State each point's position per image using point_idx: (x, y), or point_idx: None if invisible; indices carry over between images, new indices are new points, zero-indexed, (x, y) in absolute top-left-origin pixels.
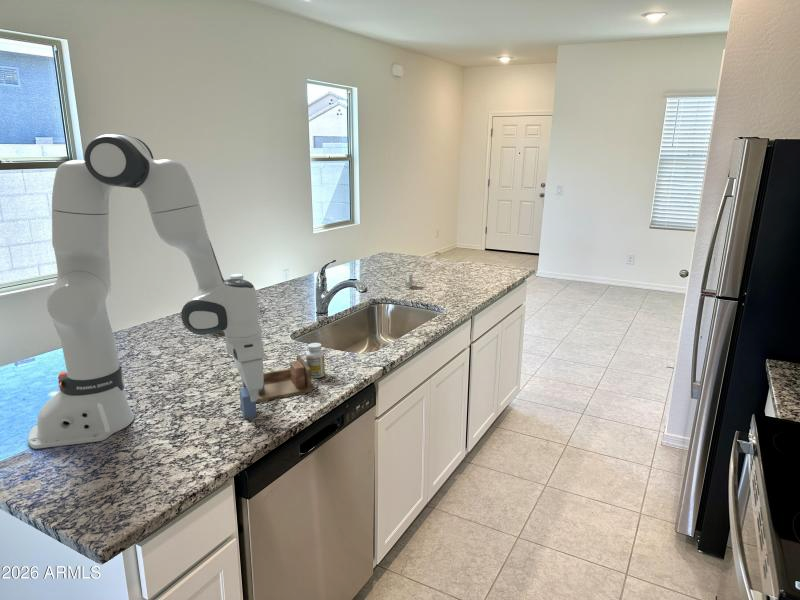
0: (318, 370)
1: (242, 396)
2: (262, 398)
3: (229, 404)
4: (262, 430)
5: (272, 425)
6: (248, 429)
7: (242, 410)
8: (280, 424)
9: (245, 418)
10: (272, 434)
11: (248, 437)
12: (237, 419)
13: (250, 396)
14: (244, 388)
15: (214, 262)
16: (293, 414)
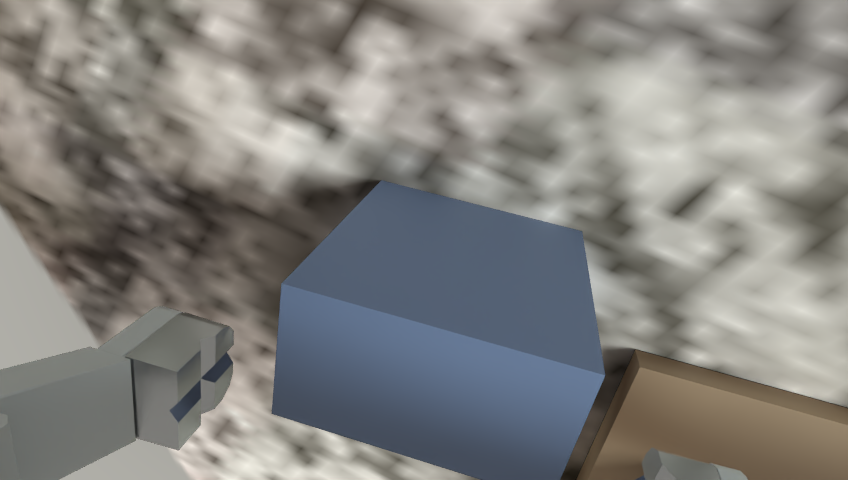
0: None
1: (328, 292)
2: (600, 450)
3: (803, 191)
4: (127, 202)
5: (170, 288)
6: (183, 123)
7: (483, 219)
8: None
9: (378, 185)
10: (51, 228)
11: (60, 68)
12: (407, 120)
13: (109, 345)
14: (560, 427)
15: None
16: (256, 450)
